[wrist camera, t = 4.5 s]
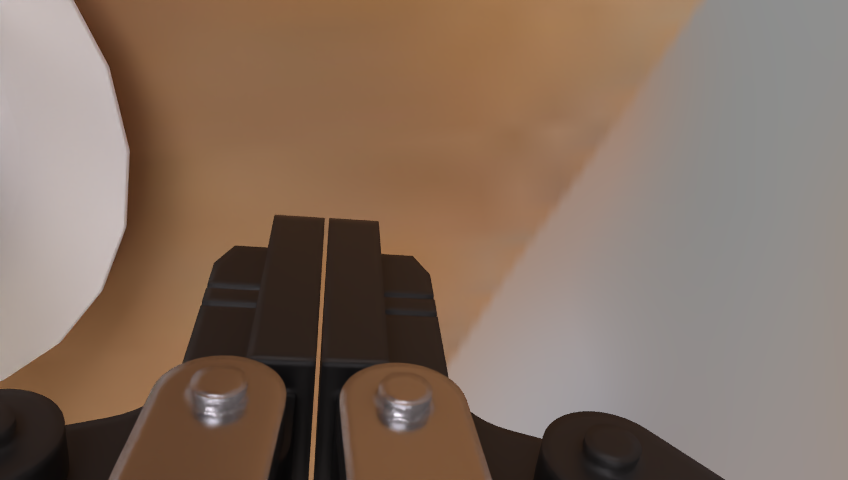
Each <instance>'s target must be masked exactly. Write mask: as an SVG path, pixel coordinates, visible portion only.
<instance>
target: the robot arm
mask: <svg viewBox="0 0 848 480" xmlns="http://www.w3.org/2000/svg"><path fill="white" fill-rule="evenodd" d="M324 222H325V218H317V217H302V216H286V215H275V216H274V220H273V225H272V230H271V235H270V240H269V245H268V248H266V247H249V246H234V247H233V248H232V249H230V250H229V251H228V252H227V253H225V254H224V255H223V256H222V257H221V258H219V259H218V260H217V261H216V262H215V263H214V265H213V268H212V271H211V274H210V278H209V281H208V286H207V288H206V290H205V294H204V297H203V300H202V306H200V309H199V313H198V316H197V319H196V322H195V325H194V328H193V332H192V335H191V338H190V341H189V344H188V347H187V351H186V354H185V357H184V360H183V363H182V364H180V365H178V366H176V367H174V368H172V369H171V370H169V371H168V372H166V373H165V374H164V375H162V377H161V378H160V379H159V380H158V381H157V382H156V383H155V385H154V386H153V388H152V390H151V392H150V394H149V396H148V398H147V400H146V402H145V404H144V406H143V407H140V408H138V409H136V410H133V411H130V412H127V413H124V414H121V415H117V416H113V417H108V418H103V419H97V420H92V421H86V422H81V423H75V424H70V425H65V421H64V417H63V414H62V411H61V410H60V408H59V407H58V405H56V404H55V403H54V402H53V401H52V400H50V399H48V398H47V397H45V396H43V395H40V394H37V393H34V392H30V391H25V390H17V389H0V480H308V477H309V462H310V446H311V431H312V415H313V400H314V384H315V369H316V353H317V337H318V321H319V305H320V289H321V272H322V256H323V239H324ZM433 298H434V294H433V289H432V283H431V278H430V274H429V273H428V272H427V271H426V270H425V269H424V268H423V267H422V266H421V265H420V263H419V262H418V261H417V260H416V259H415V258H414V257H413V256H404V255H387V254H381V246H380V232H379V222H378V221H366V220H351V219H335V218H329V230H328V245H327V261H326V277H325V293H324V308H323V324H322V341H321V358H320V376H319V394H318V411H317V429H316V447H315V465H314V480H725V479H723V478H721V477H720V476H718V475H717V474H715V473H714V472H712V471H711V470H709V469H708V468H706V467H704V466H703V465H701V464H700V463H698V462H697V461H695V460H694V459H692V458H691V457H689V456H687V455H686V454H684V453H682V452H681V451H680V450H678V449H676V448H675V447H673V446H672V445H670V444H669V443H667V442H666V441H664V440H663V439H661V438H659V437H658V436H656V435H655V434H653V433H652V432H650V431H649V430H647V429H645V428H644V427H642V426H640V425H638V424H637V423H634V422H632V421H630V420H628V419H625V418H622V417H619V416H616V415H612V414H608V413H602V412H592V411H590V412H589V411H583V412H576V413H570V414H567V415H564V416H562V417H560V418H558V419H556V420H555V421H553V422H552V423H551V424H550V425H549V426H548V427H547V429H546V430H545V433H544V435H543V438H542V439H541V438H537V437H533V436H529V435H525V434H522V433H518V432H514V431H511V430H507V429H504V428H501V427H498V426H495V425H493V424H490V423H488V422H486V421H484V420H482V419H481V418H479V417H477V416H476V415H474V414H473V413H471V412H470V409H469V406H468V403H467V400H466V398H465V395H464V393H463V392H462V391H461V389H460V388H459V387H458V386H457V385H456V384H455V383H454V382H453V381H452V380H450V379H449V378H448V372H447V366H446V361H445V355H444V350H443V344H442V339H441V333H440V328H439V322H438V317H437V311H436V305H435V300H434V299H433Z"/></svg>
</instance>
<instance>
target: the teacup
mask: <svg viewBox="0 0 848 480" xmlns="http://www.w3.org/2000/svg"><path fill="white" fill-rule="evenodd" d="M129 157H130V150H129V146H128V142H127V138H126V134H125V129H124V125H123V121H122V117H121V113H120V109H119V105H118V101H117V97H116V93H115V89H114V85H113V81H112V77H111V72H110V68H109V66H108V64H107V62H106V60H105V58H104V56H103V54H102V52H101V51H100V49H99V47H98V45H97V43H96V41H95V39H94V37H93V36H92V34H91V32H90V30H89V28H88V26H87V24H86V22H85V21H84V19H83V17H82V15H81V13H80V11H79V9H78V7H77V5H76V4H75V2H74V0H0V381H2V380H4V379H6V378H7V377H9V376H10V375H12V374H13V373H15V372H17V371H18V370H20V369H21V368H23V367H24V366H26V365H27V364H29V363H30V362H32V361H33V360H35V359H36V358H38V357H39V356H41V355H42V354H44V353H45V352H47V351H48V350H50V349H51V348H53V347H54V346H56V345H57V344H59V343H60V342H61V341H62V340H63V339H64V337H65V336H66V335H67V334H68V332H69V331H70V330H71V329H72V327H73V326H74V325H75V324H76V323H77V321H78V320H79V319H80V318H81V316H82V315H83V314H84V313H85V311H86V310H87V309H88V308H89V307H90V305H91V304H92V303H93V302H94V300H95V299H96V298H97V297H98V295H99V294H100V293H101V292H102V290H103V288H104V285H105V282H106V280H107V277H108V274H109V272H110V269H111V266H112V264H113V261H114V258H115V256H116V253H117V250H118V248H119V245H120V242H121V240H122V237H123V234H124V232H125V229H126V226H127V203H128V180H129Z"/></svg>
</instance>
